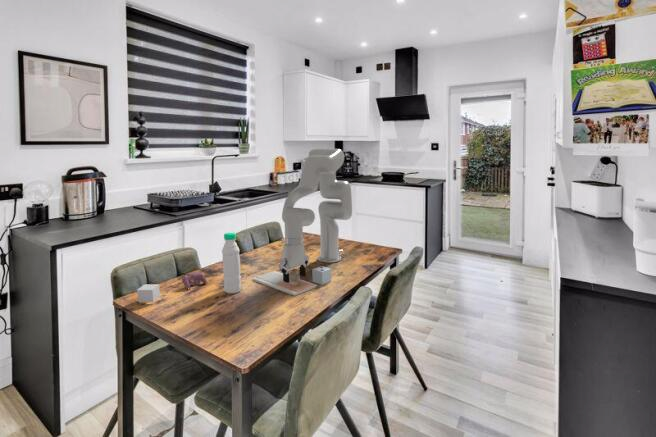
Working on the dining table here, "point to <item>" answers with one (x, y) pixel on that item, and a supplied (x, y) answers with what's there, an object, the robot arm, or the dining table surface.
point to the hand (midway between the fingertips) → (294, 278)
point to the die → (321, 275)
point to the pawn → (294, 277)
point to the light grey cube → (148, 293)
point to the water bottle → (231, 264)
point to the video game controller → (195, 275)
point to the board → (283, 283)
